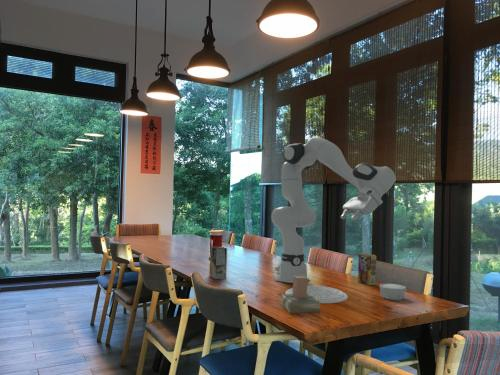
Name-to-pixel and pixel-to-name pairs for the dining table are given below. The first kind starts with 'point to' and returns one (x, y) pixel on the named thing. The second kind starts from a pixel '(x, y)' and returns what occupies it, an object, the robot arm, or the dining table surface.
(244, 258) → the dining table surface
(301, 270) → the robot arm
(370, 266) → the candy box
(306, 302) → the base block
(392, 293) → the ramekin
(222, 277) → the coffee box
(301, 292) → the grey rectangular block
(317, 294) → the ceiling medallion
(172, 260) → the dining table surface
